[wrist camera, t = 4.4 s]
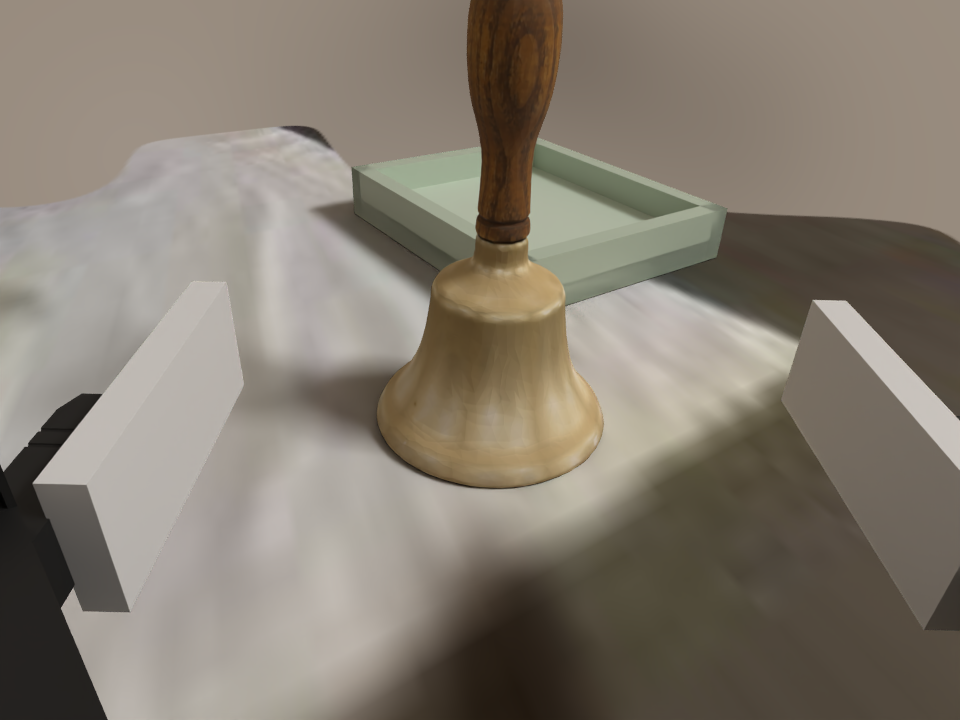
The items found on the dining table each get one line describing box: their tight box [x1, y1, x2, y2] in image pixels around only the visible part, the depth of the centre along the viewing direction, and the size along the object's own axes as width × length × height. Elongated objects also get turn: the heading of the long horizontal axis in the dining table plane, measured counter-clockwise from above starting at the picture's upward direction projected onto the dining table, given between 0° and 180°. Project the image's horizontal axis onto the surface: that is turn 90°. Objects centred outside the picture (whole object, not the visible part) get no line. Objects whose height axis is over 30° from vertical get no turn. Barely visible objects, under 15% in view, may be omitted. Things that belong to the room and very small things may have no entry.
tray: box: [352, 138, 727, 306], centre depth 41 cm, size 16×14×3 cm
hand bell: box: [377, 0, 604, 488], centre depth 22 cm, size 8×8×16 cm
